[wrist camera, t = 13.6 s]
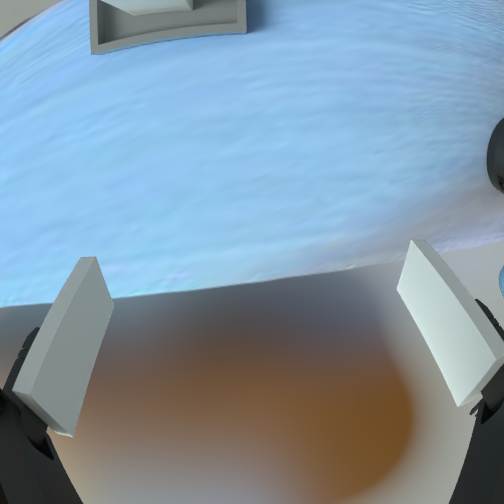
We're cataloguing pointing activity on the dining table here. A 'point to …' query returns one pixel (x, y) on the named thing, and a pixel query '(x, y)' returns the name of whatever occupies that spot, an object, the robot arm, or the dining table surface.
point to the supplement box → (151, 6)
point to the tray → (162, 24)
